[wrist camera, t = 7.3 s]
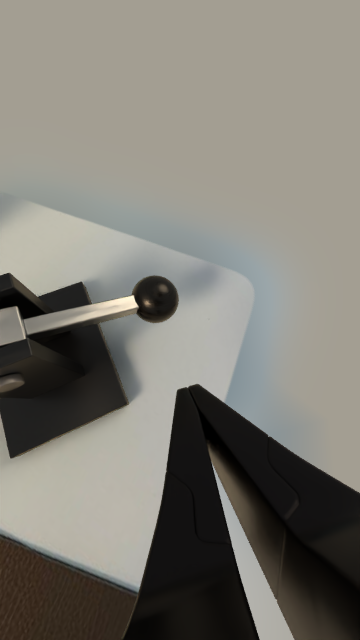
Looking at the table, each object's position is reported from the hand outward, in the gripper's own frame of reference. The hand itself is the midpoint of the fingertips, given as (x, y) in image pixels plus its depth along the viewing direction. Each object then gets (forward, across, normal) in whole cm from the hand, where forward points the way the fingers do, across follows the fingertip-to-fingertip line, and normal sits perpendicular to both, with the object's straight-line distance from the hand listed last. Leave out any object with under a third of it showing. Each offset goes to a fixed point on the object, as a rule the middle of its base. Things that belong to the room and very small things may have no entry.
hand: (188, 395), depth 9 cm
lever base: (+13, +9, +4) cm, 16 cm away
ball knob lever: (+10, +5, +1) cm, 11 cm away
